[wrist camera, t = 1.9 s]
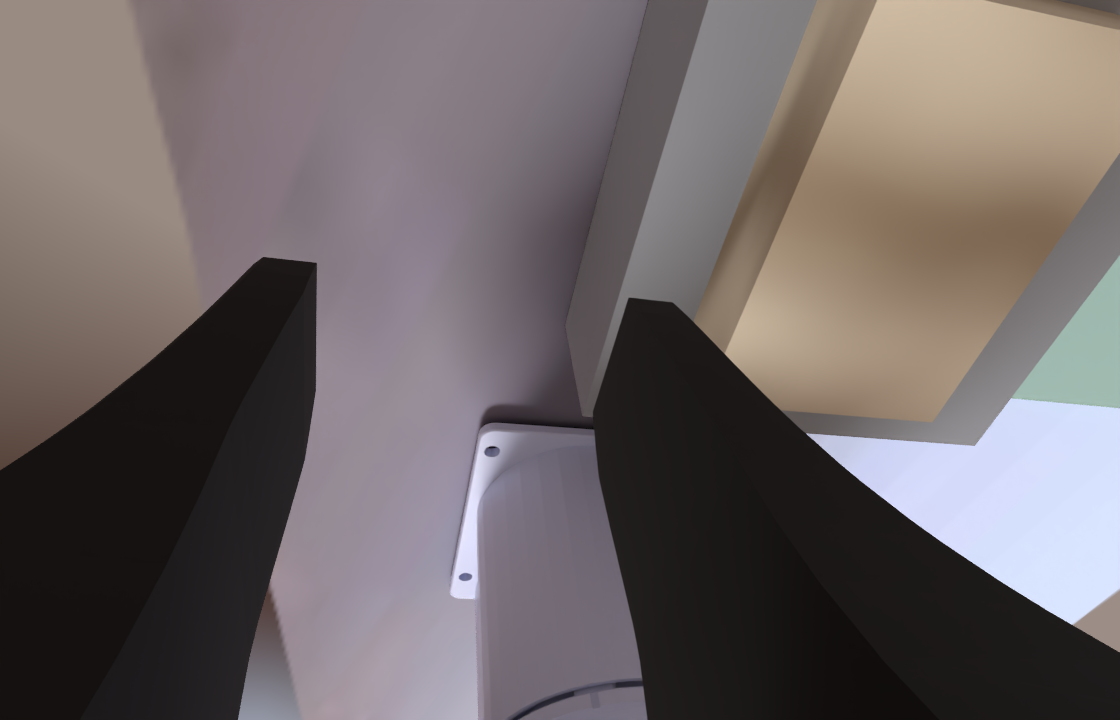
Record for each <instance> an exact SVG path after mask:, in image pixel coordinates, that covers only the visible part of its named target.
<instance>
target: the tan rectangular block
mask: <svg viewBox="0 0 1120 720" xmlns="http://www.w3.org/2000/svg"><path fill="white" fill-rule="evenodd" d="M1119 153H1120V15H1117V14H1114V13H1110V12H1105V11H1101V10H1096V9H1092V8H1088V7H1083V6H1079V5H1074V4H1070V3H1066V2H1061V1H1057V0H817V2H816V4H815V7H814V10H813V12H812V15H811V17H810V20H809V23H808V25H807V28H806V30H805V33H804V36H803V38H802V41H801V43H800V46H799V49H798V51H797V54H796V56H795V59H794V62H793V64H792V67H791V69H790V72H789V75H788V77H787V80H786V82H785V85H784V88H783V90H782V93H781V95H780V98H779V100H778V103H777V106H776V108H775V111H774V113H773V116H772V119H771V121H770V124H769V126H768V129H767V132H766V134H765V137H764V139H763V142H762V145H761V147H760V150H759V152H758V155H757V158H756V160H755V163H754V165H753V168H752V171H751V173H750V176H749V178H748V181H747V184H746V186H745V189H744V191H743V194H742V196H741V199H740V202H739V204H738V207H737V209H736V212H735V215H734V217H733V220H732V222H731V225H730V228H729V230H728V233H727V235H726V238H725V241H724V243H723V246H722V248H721V251H720V254H719V256H718V259H717V261H716V264H715V267H714V269H713V272H712V274H711V277H710V279H709V282H708V285H707V287H706V290H705V292H704V295H703V298H702V300H701V303H700V305H699V308H698V311H697V313H696V316H695V318H694V321H693V322H694V323H695V324H696V325H697V326H698V327H699V328H700V329H701V330H702V331H703V332H704V333H705V334H706V335H707V336H708V337H709V338H710V339H711V340H712V341H713V342H714V343H715V344H716V345H717V347H718V348H719V349H720V350H721V351H722V352H723V353H724V354H725V355H726V356H727V357H728V358H729V359H730V360H731V361H732V362H733V363H734V364H735V365H736V366H737V367H738V368H739V369H740V370H741V371H742V372H743V373H744V374H745V375H746V376H747V377H748V378H749V379H750V380H751V381H752V382H753V383H754V384H755V385H756V386H757V387H758V388H759V389H760V390H761V391H762V392H763V393H764V394H765V395H766V396H767V397H768V398H769V399H770V400H771V401H772V402H773V403H774V404H775V405H776V406H777V407H778V408H779V409H780V410H784V411H797V412H809V413H821V414H834V415H846V416H858V417H871V418H883V419H896V420H908V421H920V422H933V421H934V419H935V418H936V417H937V415H938V414H939V412H940V411H941V409H942V408H943V407H944V405H945V404H946V402H947V401H948V399H949V398H950V396H951V395H952V394H953V392H954V391H955V389H956V388H957V386H958V385H959V383H960V382H961V381H962V379H963V378H964V376H965V375H966V373H967V372H968V371H969V369H970V368H971V366H972V365H973V363H974V362H975V360H976V359H977V358H978V356H979V355H980V353H981V352H982V350H983V349H984V347H985V346H986V345H987V343H988V342H989V340H990V339H991V337H992V336H993V335H994V333H995V332H996V330H997V329H998V327H999V326H1000V324H1001V323H1002V322H1003V320H1004V319H1005V317H1006V316H1007V314H1008V313H1009V312H1010V310H1011V309H1012V307H1013V306H1014V304H1015V303H1016V301H1017V300H1018V299H1019V297H1020V296H1021V294H1022V293H1023V291H1024V290H1025V288H1026V287H1027V286H1028V284H1029V283H1030V281H1031V280H1032V278H1033V277H1034V276H1035V274H1036V273H1037V271H1038V270H1039V268H1040V267H1041V265H1042V264H1043V263H1044V261H1045V260H1046V258H1047V257H1048V255H1049V254H1050V253H1051V251H1052V250H1053V248H1054V247H1055V245H1056V244H1057V242H1058V241H1059V240H1060V238H1061V237H1062V235H1063V234H1064V232H1065V231H1066V229H1067V228H1068V227H1069V225H1070V224H1071V222H1072V221H1073V219H1074V218H1075V217H1076V215H1077V214H1078V212H1079V211H1080V209H1081V208H1082V206H1083V205H1084V204H1085V202H1086V201H1087V199H1088V198H1089V196H1090V195H1091V194H1092V192H1093V191H1094V189H1095V188H1096V186H1097V185H1098V183H1099V182H1100V181H1101V179H1102V178H1103V176H1104V175H1105V173H1106V172H1107V170H1108V169H1109V168H1110V166H1111V165H1112V163H1113V162H1114V160H1115V159H1116V158H1117V156H1118V155H1119Z"/></svg>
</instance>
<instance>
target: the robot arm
mask: <svg viewBox="0 0 1120 720" xmlns="http://www.w3.org/2000/svg"><path fill="white" fill-rule="evenodd" d="M316 289H317V263H312V262H303V261H294V260H285V259H276V258H267V257H263V258H261V259H260V260H259V261H257V262H256V263H255V264H253V265H252V266H251V267H250V268H249V269H248V270H247V271H246V272H245V273H244V274H243V275H242V276H241V277H240V278H239V279H238V280H237V281H236V282H235V283H234V284H233V285H232V286H231V287H230V288H229V289H228V290H227V291H226V292H225V293H224V294H223V295H222V296H221V297H220V298H219V299H218V300H217V301H216V302H215V303H214V304H213V305H212V306H211V307H210V308H209V309H208V310H207V311H206V312H205V313H204V314H203V315H202V316H201V317H199V318H198V319H197V320H196V321H195V322H194V323H193V324H192V325H191V326H189V327H188V329H186V330H185V331H184V332H183V333H182V334H180V335H179V336H178V337H177V338H176V339H175V340H174V341H173V342H172V343H170V344H169V345H168V346H167V347H166V348H165V349H164V350H163V351H161V352H160V353H159V354H158V355H157V356H156V357H154V358H153V359H152V360H151V361H150V362H149V363H147V364H146V365H145V366H144V367H142V368H141V369H140V370H139V371H137V372H136V373H135V374H134V375H133V376H131V377H130V378H129V379H127V380H126V381H125V382H123V383H122V384H121V385H120V386H118V387H117V388H116V389H115V390H113V391H112V392H111V393H110V394H108V395H107V396H106V397H105V398H103V399H102V400H101V401H100V402H98V403H97V404H96V405H94V406H93V407H92V408H90V409H89V410H88V411H86V412H85V413H84V414H82V415H81V416H79V417H78V418H77V419H75V420H74V421H73V422H71V423H70V424H68V425H67V426H66V427H64V428H63V429H61V430H60V431H59V432H57V433H56V434H54V435H53V436H51V437H50V438H48V439H47V440H46V441H44V442H43V443H41V444H40V445H38V446H37V447H35V448H34V449H32V450H31V451H29V452H28V453H26V454H25V455H23V456H22V457H20V458H18V459H17V460H15V461H14V462H12V463H11V464H10V465H8V466H6V467H5V468H3V469H2V470H0V720H238V715H239V710H240V705H241V699H242V693H243V688H244V682H245V678H246V672H247V667H248V662H249V657H250V653H251V648H252V644H253V640H254V636H255V632H256V628H257V623H258V620H259V616H260V613H261V610H262V606H263V602H264V599H265V596H266V592H267V589H268V585H269V582H270V579H271V575H272V572H273V568H274V565H275V561H276V558H277V555H278V551H279V548H280V544H281V541H282V537H283V534H284V530H285V527H286V524H287V520H288V517H289V513H290V510H291V506H292V503H293V499H294V496H295V492H296V489H297V485H298V482H299V478H300V475H301V471H302V468H303V464H304V460H305V454H306V448H307V442H308V436H309V430H310V424H311V418H312V411H313V405H314V398H315V392H316ZM593 421H594V430H593V429H579V428H564V427H550V426H536V425H522V424H508V423H489V424H486V425H484V426H483V427H482V428H481V429H480V431H479V434H478V440H477V445H476V450H475V455H474V460H473V466H472V471H471V476H470V481H469V486H468V492H467V497H466V502H465V507H464V512H463V518H462V523H461V528H460V533H459V538H458V544H457V549H456V554H455V559H454V564H453V570H452V575H451V580H450V594H451V595H452V596H453V597H455V598H460V599H475V615H476V653H477V690H478V720H1120V652H1118V651H1116V650H1114V649H1113V648H1111V647H1109V646H1107V645H1106V644H1104V643H1102V642H1100V641H1099V640H1097V639H1095V638H1093V637H1092V636H1090V635H1088V634H1087V633H1085V632H1083V631H1082V630H1080V629H1078V628H1076V627H1074V626H1073V625H1071V624H1069V623H1068V622H1066V621H1064V620H1063V619H1061V618H1059V617H1057V616H1056V615H1054V614H1052V613H1050V612H1049V611H1047V610H1045V609H1044V608H1042V607H1041V606H1039V605H1037V604H1036V603H1034V602H1032V601H1031V600H1029V599H1028V598H1026V597H1024V596H1023V595H1021V594H1020V593H1018V592H1016V591H1015V590H1013V589H1011V588H1010V587H1008V586H1007V585H1005V584H1003V583H1002V582H1000V581H999V580H997V579H996V578H994V577H993V576H991V575H990V574H988V573H987V572H985V571H984V570H982V569H981V568H979V567H978V566H976V565H975V564H973V563H972V562H970V561H969V560H967V559H966V558H964V557H963V556H961V555H960V554H958V553H957V552H955V551H954V550H952V549H951V548H949V547H948V546H946V545H945V544H943V543H942V542H941V541H939V540H938V539H936V538H935V537H934V536H932V535H931V534H929V533H928V532H927V531H925V530H924V529H922V528H921V527H920V526H918V525H917V524H915V523H914V522H913V521H911V520H910V519H909V518H907V517H906V516H905V515H904V514H902V513H901V512H900V511H898V510H897V509H896V508H894V507H893V506H892V505H891V504H889V503H888V502H887V501H885V500H884V499H883V498H882V497H880V496H879V495H878V494H876V493H875V492H874V491H873V490H871V489H870V488H869V487H867V486H866V485H865V484H864V483H862V482H861V481H860V480H859V479H857V478H856V477H855V476H854V475H853V474H851V473H850V472H849V471H848V470H847V469H845V468H844V467H843V466H842V465H841V464H839V463H838V462H837V461H836V460H835V459H834V458H833V457H831V456H830V455H829V454H828V453H827V452H826V451H825V450H824V449H822V448H821V447H820V446H819V445H818V444H817V443H816V442H815V441H814V440H812V439H811V438H810V437H809V436H808V435H807V434H806V433H805V432H803V431H802V430H801V429H800V428H799V427H798V426H797V425H796V424H795V423H794V422H793V421H792V420H791V419H789V418H788V417H787V416H786V415H785V414H784V413H783V412H782V411H781V410H780V409H779V408H778V407H777V406H776V405H775V404H774V403H773V402H772V401H771V400H770V399H769V398H768V397H767V396H766V395H765V394H764V393H763V392H762V391H761V390H760V389H759V388H758V387H757V386H756V385H755V384H754V383H753V382H752V381H751V380H750V379H749V378H748V377H747V376H746V375H745V374H744V373H743V372H742V371H741V370H740V369H739V368H738V367H737V366H736V365H735V364H734V363H733V362H732V361H731V360H730V359H729V358H728V357H727V356H726V355H725V354H724V353H723V352H722V351H721V350H720V349H719V348H718V347H717V345H716V344H715V343H714V342H713V341H712V340H711V339H710V338H709V337H708V336H707V335H706V334H705V333H704V332H703V331H702V330H701V329H700V328H699V327H698V326H697V325H696V324H695V323H694V322H693V321H692V320H691V319H690V318H689V317H688V316H687V315H686V314H685V313H684V312H683V311H682V310H681V309H680V308H678V307H677V306H676V305H675V304H674V303H673V302H666V301H656V300H647V299H638V298H628V301H627V304H626V307H625V310H624V314H623V317H622V320H621V323H620V326H619V330H618V333H617V336H616V339H615V342H614V346H613V349H612V352H611V355H610V358H609V362H608V365H607V368H606V371H605V374H604V378H603V381H602V384H601V387H600V390H599V394H598V397H597V400H596V403H595V406H594V409H593ZM489 446H495V447H496V448H491V449H490V448H487V447H489Z"/></svg>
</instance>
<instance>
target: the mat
mask: <svg viewBox="0 0 1120 720" xmlns="http://www.w3.org/2000/svg"><path fill="white" fill-rule="evenodd" d="M1011 398H1014V399H1025V400H1036V401H1047V402H1058V403H1069V404H1080V405H1091V406H1102V407H1113V408H1120V256H1119V257H1118V258H1117V260H1116V261H1115V262H1114V264H1113V265H1112V266H1111V267H1110V269H1109V270H1108V271H1107V273H1106V274H1105V275H1104V277H1103V278H1102V279H1101V281H1100V282H1099V283H1098V285H1097V286H1096V287H1095V288H1094V290H1093V291H1092V292H1091V294H1090V295H1089V296H1088V298H1087V299H1086V300H1085V302H1084V303H1083V304H1082V306H1081V307H1080V308H1079V309H1078V311H1077V312H1076V313H1075V315H1074V316H1073V317H1072V319H1071V320H1070V321H1069V323H1068V324H1067V325H1066V327H1065V328H1064V329H1063V330H1062V332H1061V333H1060V334H1059V336H1058V337H1057V338H1056V340H1055V341H1054V342H1053V344H1052V345H1051V346H1050V348H1049V349H1048V350H1047V351H1046V353H1045V354H1044V355H1043V357H1042V358H1041V359H1040V361H1039V362H1038V363H1037V365H1036V366H1035V367H1034V369H1033V370H1032V371H1031V372H1030V374H1029V375H1028V376H1027V378H1026V379H1025V380H1024V382H1023V383H1022V384H1021V386H1020V387H1019V388H1018V390H1017V391H1016V392H1015V393H1014V395H1013V396H1012V397H1011Z"/></svg>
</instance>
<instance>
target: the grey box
mask: <svg viewBox="0 0 1120 720" xmlns="http://www.w3.org/2000/svg"><path fill="white" fill-rule="evenodd" d="M1057 1H1061V2H1066V3H1070V4H1074V5H1079V6H1083V7H1088V8H1092V9H1096V10H1101V11H1105V12H1110V13H1114V14H1117V15H1120V0H1057ZM816 2H817V0H649V1H648V5H647V9H646V12H645V16H644V20H643V24H642V28H641V32H640V36H639V40H638V43H637V47H636V51H635V55H634V59H633V63H632V67H631V71H630V74H629V78H628V82H627V86H626V90H625V94H624V98H623V102H622V105H621V109H620V113H619V117H618V121H617V125H616V129H615V133H614V137H613V140H612V144H611V148H610V152H609V156H608V160H607V164H606V168H605V171H604V175H603V179H602V183H601V187H600V191H599V195H598V199H597V202H596V206H595V210H594V214H593V218H592V222H591V226H590V230H589V233H588V237H587V241H586V245H585V249H584V253H583V257H582V261H581V264H580V268H579V272H578V276H577V280H576V284H575V288H574V292H573V295H572V299H571V303H570V307H569V311H568V315H567V319H566V323H565V329H566V334H567V339H568V344H569V350H570V355H571V360H572V365H573V370H574V376H575V381H576V386H577V391H578V396H579V402H580V407H581V412H582V417H593V409H594V406H595V403H596V400H597V397H598V394H599V390H600V387H601V384H602V381H603V378H604V374H605V371H606V368H607V365H608V362H609V358H610V355H611V352H612V349H613V346H614V342H615V339H616V336H617V333H618V330H619V326H620V323H621V320H622V317H623V314H624V310H625V307H626V304H627V301H628V298H638V299H647V300H656V301H666V302H673V303H674V304H675V305H676V306H677V307H678V308H680V309H681V310H682V311H683V312H684V313H685V314H686V315H687V316H688V317H689V318H690V319H691V320H692V321H694V318H695V316H696V313H697V311H698V308H699V305H700V303H701V300H702V298H703V295H704V292H705V290H706V287H707V285H708V282H709V279H710V277H711V274H712V272H713V269H714V267H715V264H716V261H717V259H718V256H719V254H720V251H721V248H722V246H723V243H724V241H725V238H726V235H727V233H728V230H729V228H730V225H731V222H732V220H733V217H734V215H735V212H736V209H737V207H738V204H739V202H740V199H741V196H742V194H743V191H744V189H745V186H746V184H747V181H748V178H749V176H750V173H751V171H752V168H753V165H754V163H755V160H756V158H757V155H758V152H759V150H760V147H761V145H762V142H763V139H764V137H765V134H766V132H767V129H768V126H769V124H770V121H771V119H772V116H773V113H774V111H775V108H776V106H777V103H778V100H779V98H780V95H781V93H782V90H783V88H784V85H785V82H786V80H787V77H788V75H789V72H790V69H791V67H792V64H793V62H794V59H795V56H796V54H797V51H798V49H799V46H800V43H801V41H802V38H803V36H804V33H805V30H806V28H807V25H808V23H809V20H810V17H811V15H812V12H813V10H814V7H815V4H816ZM1119 256H1120V153H1119V155H1118V156H1117V158H1116V159H1115V160H1114V162H1113V163H1112V165H1111V166H1110V168H1109V169H1108V170H1107V172H1106V173H1105V175H1104V176H1103V178H1102V179H1101V181H1100V182H1099V183H1098V185H1097V186H1096V188H1095V189H1094V191H1093V192H1092V194H1091V195H1090V196H1089V198H1088V199H1087V201H1086V202H1085V204H1084V205H1083V206H1082V208H1081V209H1080V211H1079V212H1078V214H1077V215H1076V217H1075V218H1074V219H1073V221H1072V222H1071V224H1070V225H1069V227H1068V228H1067V229H1066V231H1065V232H1064V234H1063V235H1062V237H1061V238H1060V240H1059V241H1058V242H1057V244H1056V245H1055V247H1054V248H1053V250H1052V251H1051V253H1050V254H1049V255H1048V257H1047V258H1046V260H1045V261H1044V263H1043V264H1042V265H1041V267H1040V268H1039V270H1038V271H1037V273H1036V274H1035V276H1034V277H1033V278H1032V280H1031V281H1030V283H1029V284H1028V286H1027V287H1026V288H1025V290H1024V291H1023V293H1022V294H1021V296H1020V297H1019V299H1018V300H1017V301H1016V303H1015V304H1014V306H1013V307H1012V309H1011V310H1010V312H1009V313H1008V314H1007V316H1006V317H1005V319H1004V320H1003V322H1002V323H1001V324H1000V326H999V327H998V329H997V330H996V332H995V333H994V335H993V336H992V337H991V339H990V340H989V342H988V343H987V345H986V346H985V347H984V349H983V350H982V352H981V353H980V355H979V356H978V358H977V359H976V360H975V362H974V363H973V365H972V366H971V368H970V369H969V371H968V372H967V373H966V375H965V376H964V378H963V379H962V381H961V382H960V383H959V385H958V386H957V388H956V389H955V391H954V392H953V394H952V395H951V396H950V398H949V399H948V401H947V402H946V404H945V405H944V407H943V408H942V409H941V411H940V412H939V414H938V415H937V417H936V418H935V419H934V421H933V422H920V421H908V420H896V419H883V418H871V417H858V416H846V415H834V414H821V413H809V412H797V411H784V410H781V411H782V412H783V413H784V414H785V415H786V416H787V417H788V418H789V419H791V420H792V421H793V422H794V423H795V424H796V425H797V426H798V427H799V428H800V429H801V430H802V431H803V432H805V433H810V434H824V435H837V436H851V437H864V438H877V439H891V440H904V441H918V442H931V443H945V444H958V445H972V446H975V445H976V443H977V442H978V441H979V439H980V438H981V437H982V436H983V434H984V433H985V432H986V430H987V429H988V428H989V426H990V425H991V424H992V422H993V421H994V420H995V418H996V417H997V416H998V415H999V413H1000V412H1001V411H1002V409H1003V408H1004V407H1005V405H1006V404H1007V403H1008V401H1009V400H1010V399H1011V397H1012V396H1013V395H1014V393H1015V392H1016V391H1017V390H1018V388H1019V387H1020V386H1021V384H1022V383H1023V382H1024V380H1025V379H1026V378H1027V376H1028V375H1029V374H1030V372H1031V371H1032V370H1033V369H1034V367H1035V366H1036V365H1037V363H1038V362H1039V361H1040V359H1041V358H1042V357H1043V355H1044V354H1045V353H1046V351H1047V350H1048V349H1049V348H1050V346H1051V345H1052V344H1053V342H1054V341H1055V340H1056V338H1057V337H1058V336H1059V334H1060V333H1061V332H1062V330H1063V329H1064V328H1065V327H1066V325H1067V324H1068V323H1069V321H1070V320H1071V319H1072V317H1073V316H1074V315H1075V313H1076V312H1077V311H1078V309H1079V308H1080V307H1081V306H1082V304H1083V303H1084V302H1085V300H1086V299H1087V298H1088V296H1089V295H1090V294H1091V292H1092V291H1093V290H1094V288H1095V287H1096V286H1097V285H1098V283H1099V282H1100V281H1101V279H1102V278H1103V277H1104V275H1105V274H1106V273H1107V271H1108V270H1109V269H1110V267H1111V266H1112V265H1113V264H1114V262H1115V261H1116V260H1117V258H1118V257H1119Z"/></svg>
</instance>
